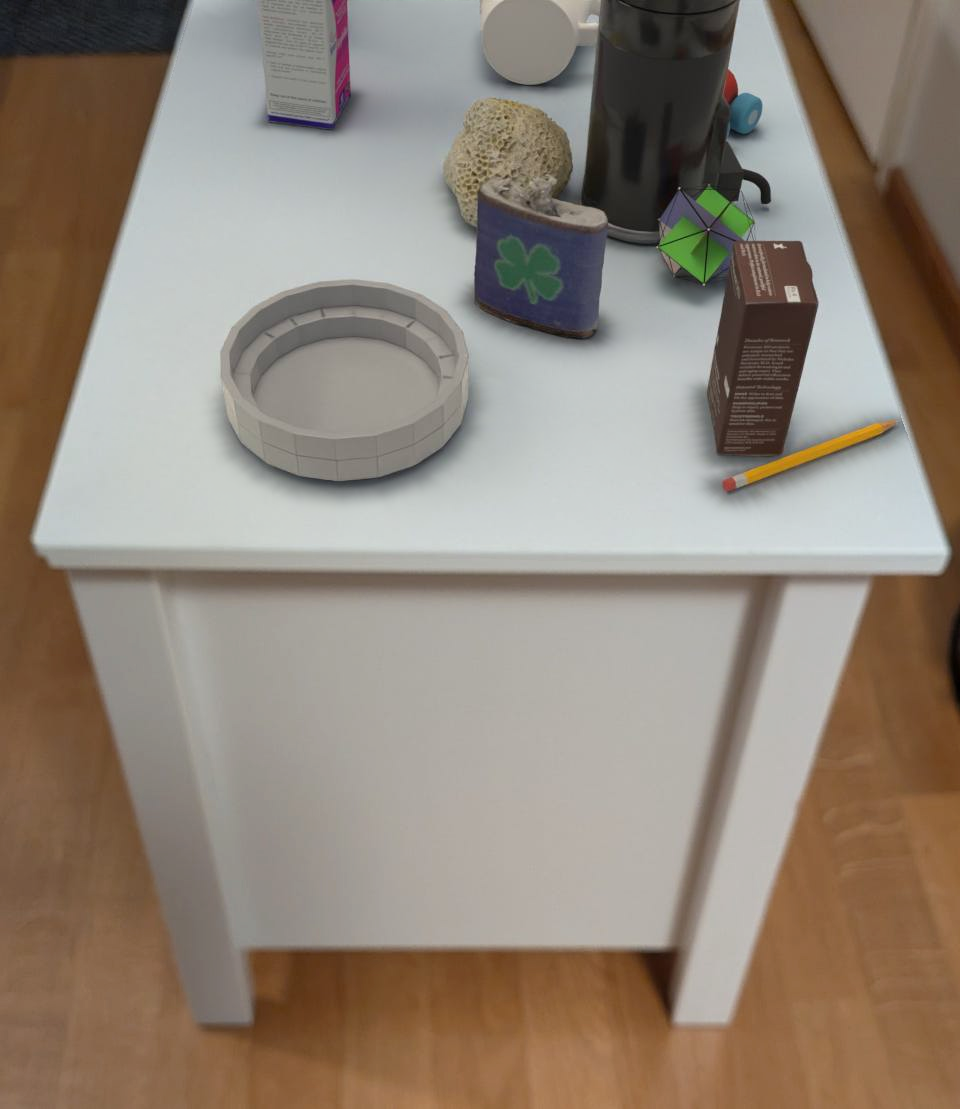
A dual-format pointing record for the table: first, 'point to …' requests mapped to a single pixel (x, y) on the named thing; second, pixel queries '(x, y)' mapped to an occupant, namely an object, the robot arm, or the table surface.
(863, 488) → the table surface
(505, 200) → the flask
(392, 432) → the bowl
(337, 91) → the supplement box
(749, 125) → the toy car
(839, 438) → the pencil
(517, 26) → the mug
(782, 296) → the box
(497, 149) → the decorative item
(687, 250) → the geometric puzzle
